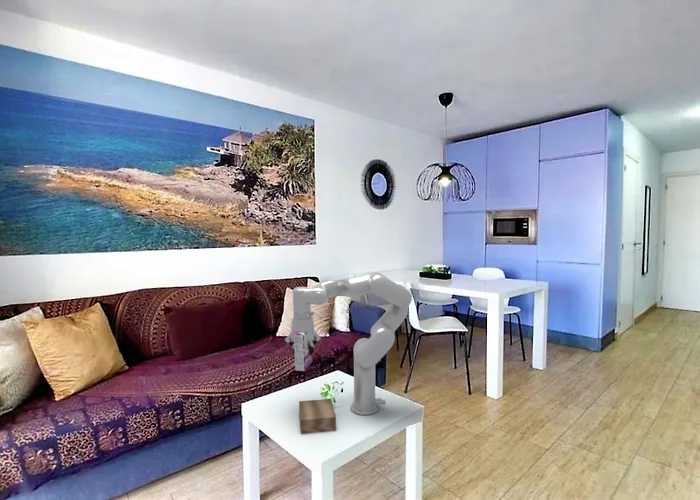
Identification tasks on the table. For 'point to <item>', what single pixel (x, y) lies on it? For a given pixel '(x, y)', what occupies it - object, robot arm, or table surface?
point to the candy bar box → (302, 351)
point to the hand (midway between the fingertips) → (303, 355)
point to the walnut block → (317, 416)
